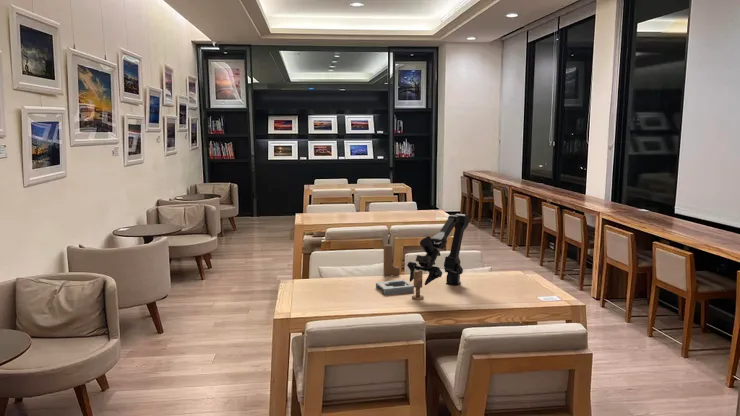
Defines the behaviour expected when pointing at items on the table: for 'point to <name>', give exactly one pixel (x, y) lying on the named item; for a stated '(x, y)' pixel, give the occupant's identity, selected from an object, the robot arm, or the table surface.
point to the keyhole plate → (391, 287)
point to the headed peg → (418, 284)
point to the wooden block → (389, 262)
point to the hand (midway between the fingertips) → (417, 283)
